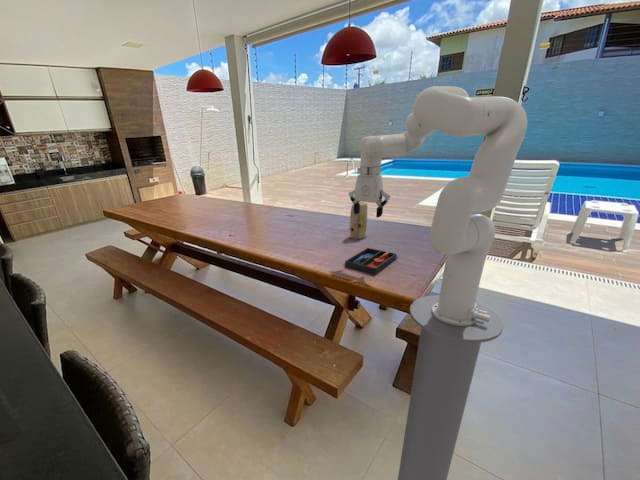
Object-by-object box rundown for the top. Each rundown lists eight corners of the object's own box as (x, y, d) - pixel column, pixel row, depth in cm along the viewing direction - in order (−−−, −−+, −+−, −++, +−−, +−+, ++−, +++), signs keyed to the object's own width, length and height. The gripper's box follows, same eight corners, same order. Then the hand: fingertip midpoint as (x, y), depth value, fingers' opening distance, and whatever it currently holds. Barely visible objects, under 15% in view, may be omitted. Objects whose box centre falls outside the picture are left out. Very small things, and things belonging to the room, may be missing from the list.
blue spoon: (370, 259, 136) (370, 254, 135) (357, 268, 129) (358, 262, 128) (362, 258, 139) (362, 252, 138) (349, 266, 131) (349, 260, 130)
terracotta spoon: (371, 264, 132) (372, 258, 131) (383, 256, 139) (383, 250, 138) (380, 266, 129) (381, 260, 128) (392, 258, 137) (392, 252, 136)
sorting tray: (396, 259, 137) (396, 253, 135) (375, 275, 123) (375, 268, 122) (367, 253, 145) (367, 247, 144) (345, 267, 132) (345, 261, 131)
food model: (361, 235, 169) (363, 199, 161) (369, 239, 164) (372, 202, 155) (346, 239, 166) (348, 202, 157) (353, 242, 160) (355, 205, 152)
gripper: (345, 171, 120) (343, 214, 126) (387, 173, 109) (383, 220, 116) (354, 169, 125) (353, 210, 131) (396, 170, 114) (392, 215, 121)
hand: (367, 215), depth 123 cm, fingers open, 9 cm apart
